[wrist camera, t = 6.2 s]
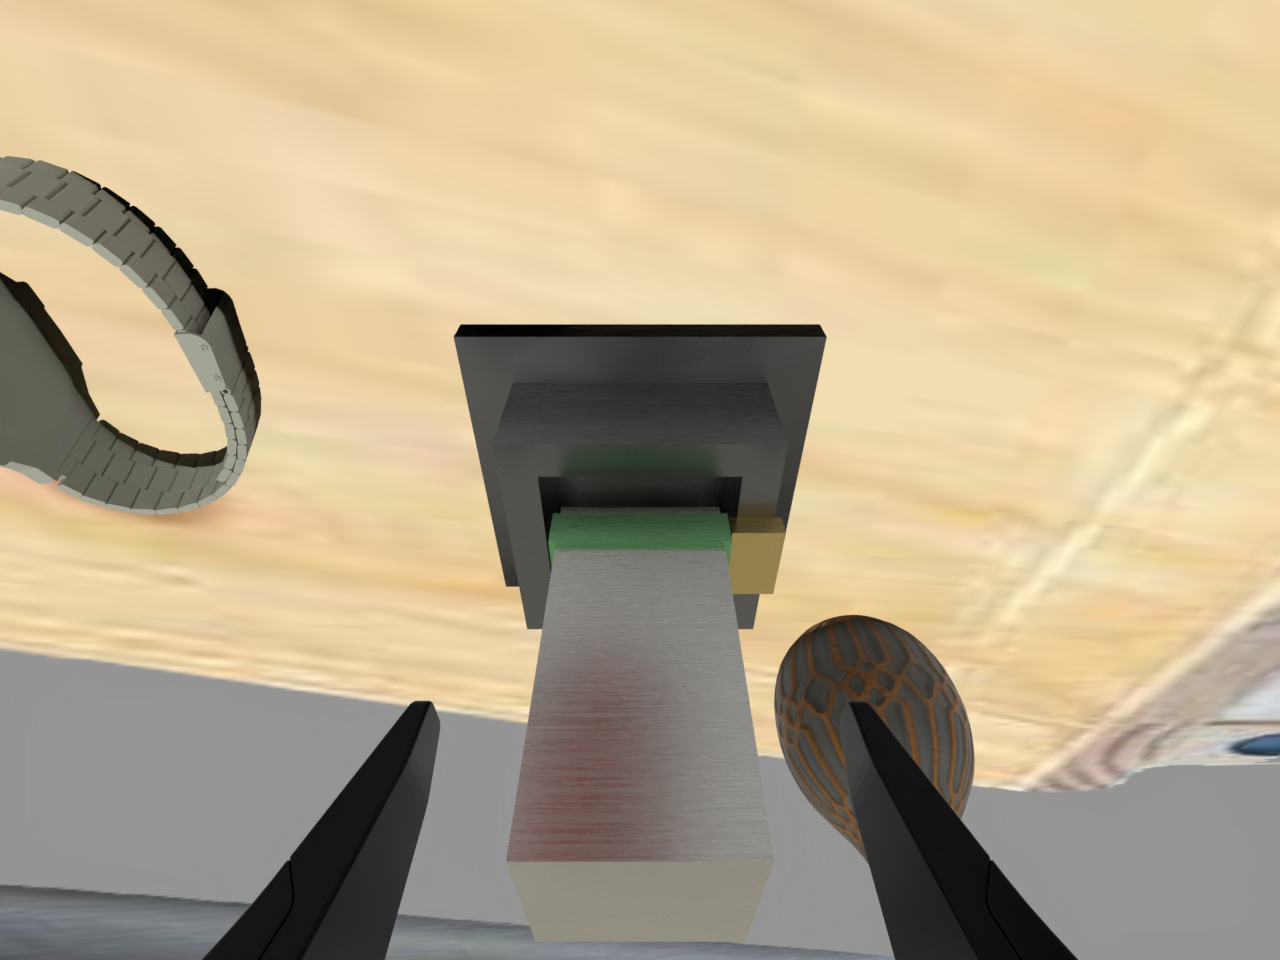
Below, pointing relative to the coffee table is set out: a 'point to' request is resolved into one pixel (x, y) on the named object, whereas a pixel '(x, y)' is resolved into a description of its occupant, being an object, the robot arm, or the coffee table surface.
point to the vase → (897, 690)
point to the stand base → (640, 433)
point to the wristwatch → (52, 372)
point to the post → (640, 738)
